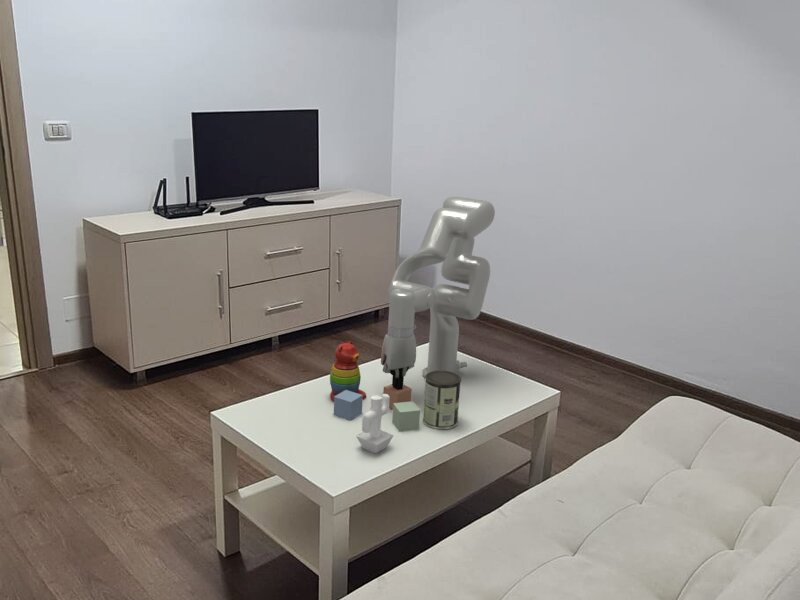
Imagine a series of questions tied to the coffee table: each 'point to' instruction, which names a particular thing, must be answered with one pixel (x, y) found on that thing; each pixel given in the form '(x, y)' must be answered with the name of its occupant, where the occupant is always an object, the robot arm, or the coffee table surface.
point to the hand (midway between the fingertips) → (397, 387)
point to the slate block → (348, 405)
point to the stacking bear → (345, 371)
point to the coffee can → (441, 399)
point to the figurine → (375, 425)
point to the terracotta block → (398, 394)
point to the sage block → (406, 416)
